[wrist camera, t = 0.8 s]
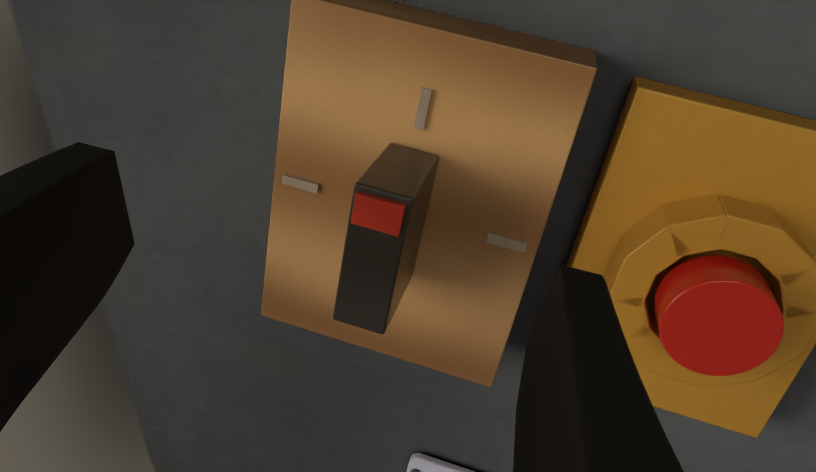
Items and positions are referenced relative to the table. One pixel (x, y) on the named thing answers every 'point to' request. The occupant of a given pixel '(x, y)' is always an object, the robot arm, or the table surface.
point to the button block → (705, 234)
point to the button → (717, 316)
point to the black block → (383, 236)
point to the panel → (454, 180)
